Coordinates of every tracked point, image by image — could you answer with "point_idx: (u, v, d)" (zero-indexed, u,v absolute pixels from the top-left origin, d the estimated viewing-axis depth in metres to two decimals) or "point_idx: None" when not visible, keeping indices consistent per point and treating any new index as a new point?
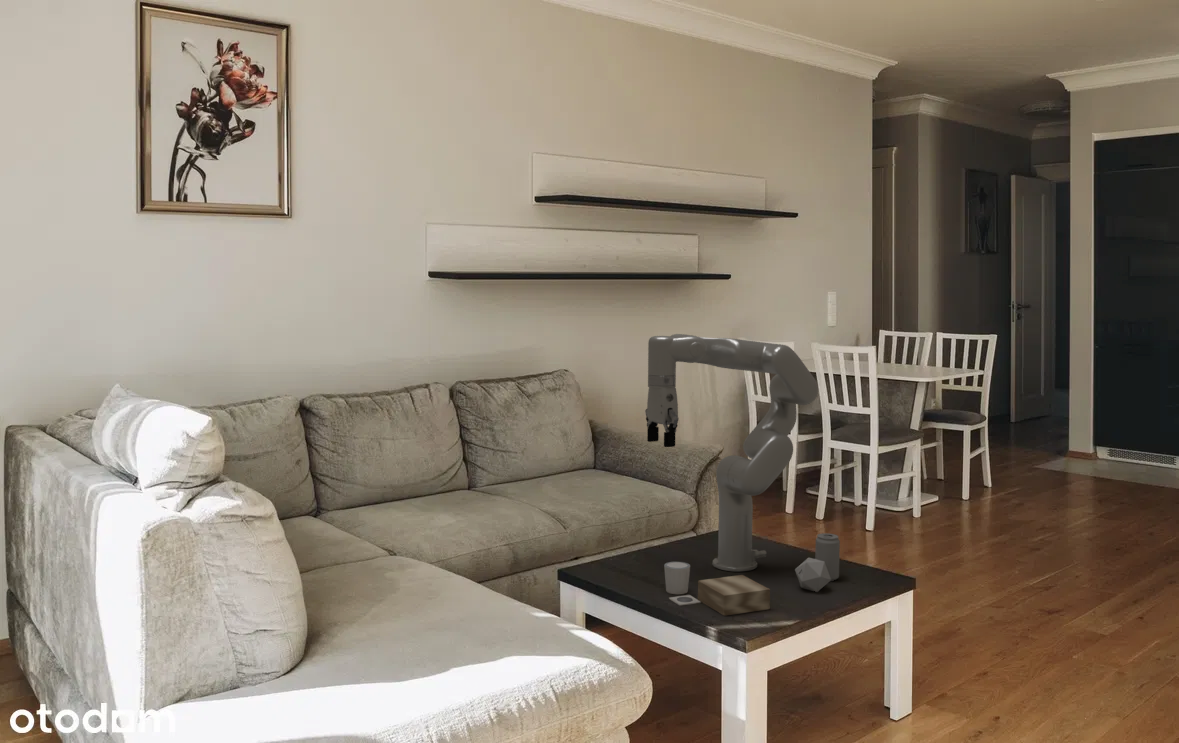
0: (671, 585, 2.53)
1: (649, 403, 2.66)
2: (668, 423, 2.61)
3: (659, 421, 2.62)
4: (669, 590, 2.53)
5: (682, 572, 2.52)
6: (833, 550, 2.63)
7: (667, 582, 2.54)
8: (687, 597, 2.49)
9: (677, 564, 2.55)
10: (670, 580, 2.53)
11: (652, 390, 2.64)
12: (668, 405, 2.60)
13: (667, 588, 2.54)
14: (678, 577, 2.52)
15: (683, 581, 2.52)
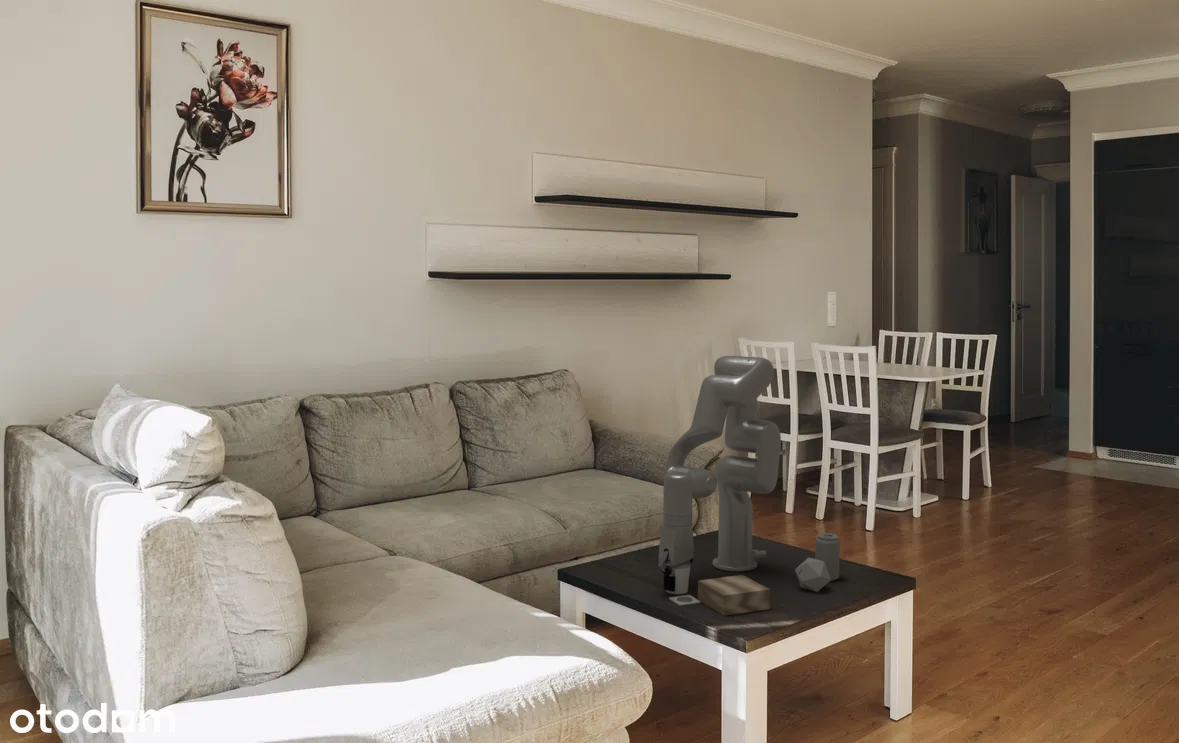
0: None
1: (679, 546, 2.51)
2: None
3: (689, 558, 2.55)
4: None
5: (682, 572, 2.52)
6: (833, 550, 2.63)
7: None
8: (687, 597, 2.49)
9: None
10: None
11: (684, 531, 2.52)
12: None
13: None
14: (678, 577, 2.52)
15: (683, 581, 2.52)
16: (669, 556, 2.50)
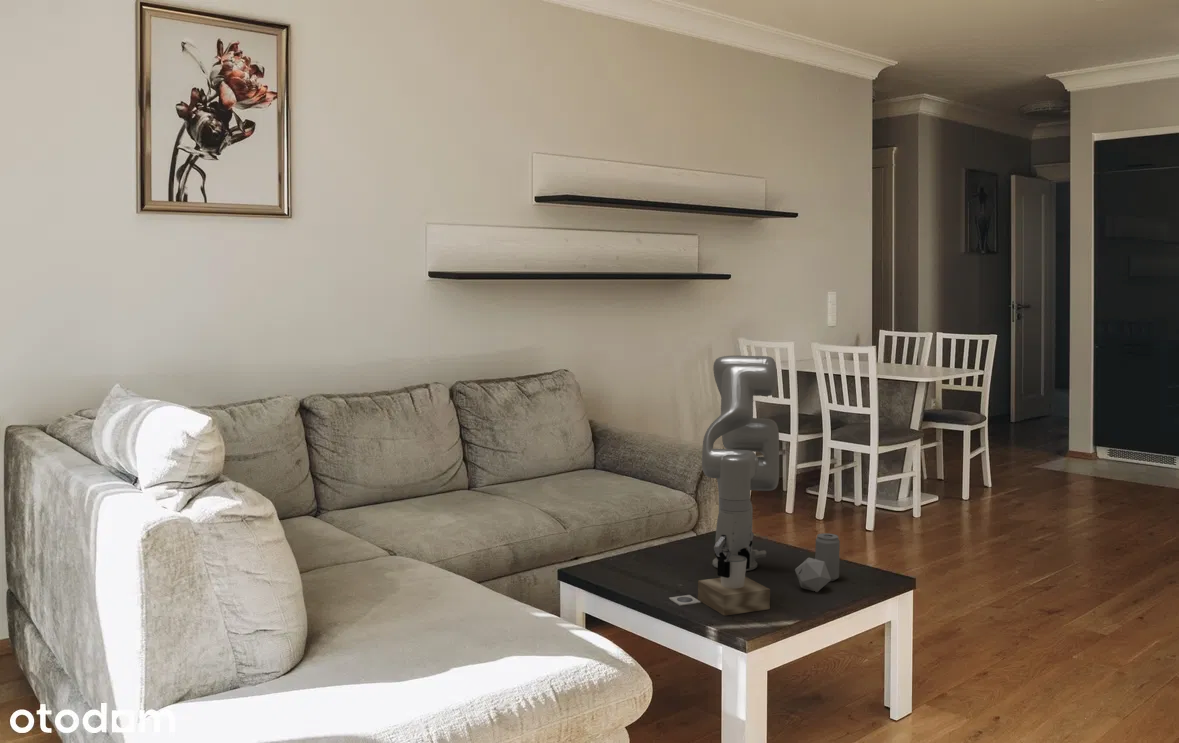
0: (727, 579, 2.41)
1: (737, 532, 2.39)
2: None
3: (747, 544, 2.44)
4: (725, 584, 2.42)
5: (739, 565, 2.40)
6: (833, 550, 2.63)
7: None
8: (687, 597, 2.49)
9: (733, 557, 2.44)
10: None
11: (742, 516, 2.40)
12: None
13: (723, 582, 2.43)
14: (735, 570, 2.40)
15: (740, 575, 2.41)
16: (727, 542, 2.39)
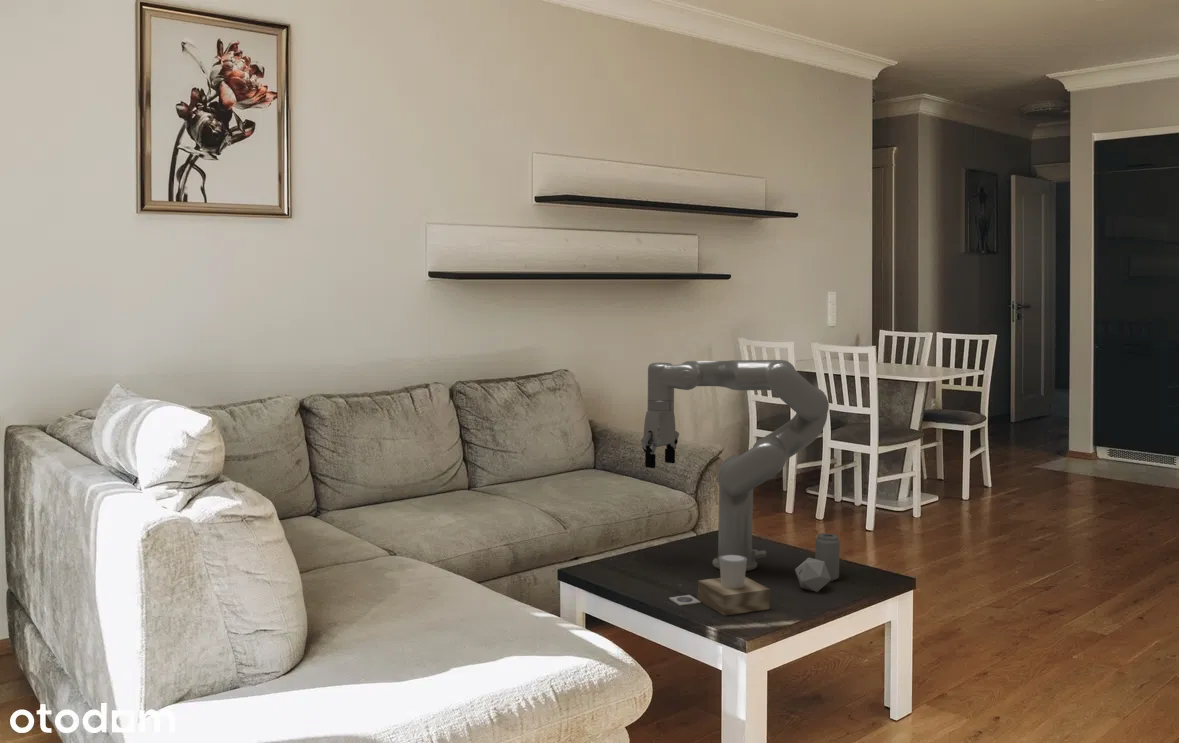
0: (727, 579, 2.41)
1: (661, 429, 2.75)
2: None
3: (672, 441, 2.80)
4: (725, 584, 2.42)
5: (739, 565, 2.40)
6: (833, 550, 2.63)
7: (723, 576, 2.42)
8: (687, 597, 2.49)
9: (733, 557, 2.44)
10: (726, 574, 2.41)
11: (666, 415, 2.76)
12: None
13: (723, 582, 2.43)
14: (735, 570, 2.40)
15: (740, 575, 2.41)
16: (653, 437, 2.75)
